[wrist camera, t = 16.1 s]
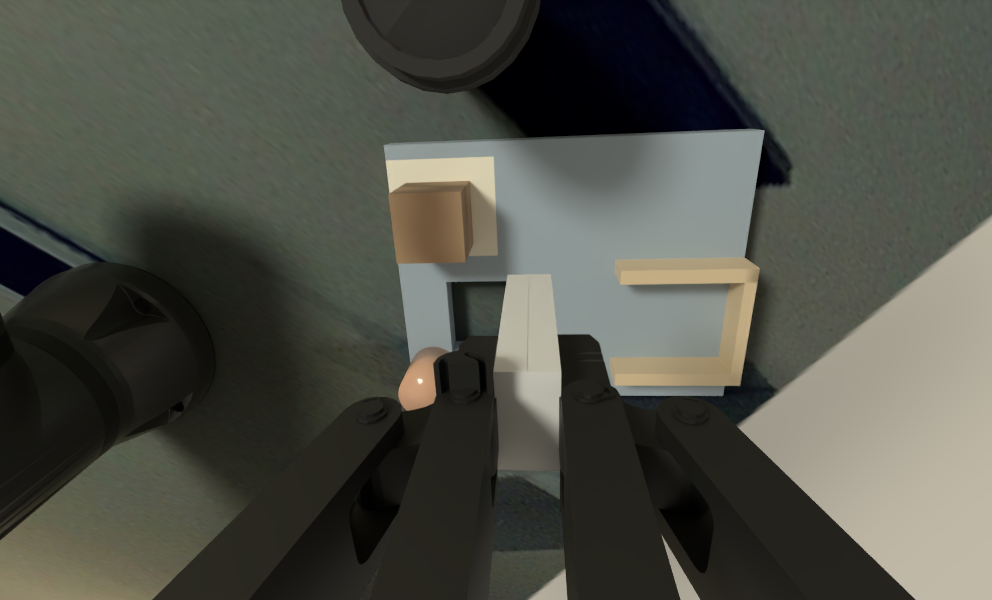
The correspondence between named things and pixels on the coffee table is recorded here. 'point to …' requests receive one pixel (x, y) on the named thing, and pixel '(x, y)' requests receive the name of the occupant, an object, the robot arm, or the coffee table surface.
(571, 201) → the board
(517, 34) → the coffee cup
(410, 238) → the walnut cube
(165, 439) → the coffee table surface
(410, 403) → the beige cylinder
